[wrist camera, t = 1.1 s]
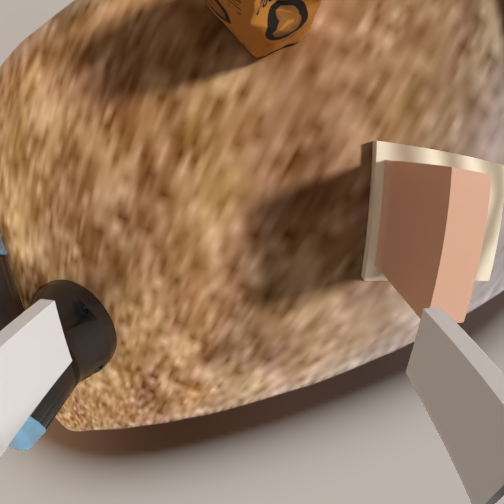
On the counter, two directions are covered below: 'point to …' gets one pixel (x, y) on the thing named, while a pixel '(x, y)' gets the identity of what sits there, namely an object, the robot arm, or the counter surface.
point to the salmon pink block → (432, 233)
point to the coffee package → (266, 21)
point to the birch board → (381, 151)
